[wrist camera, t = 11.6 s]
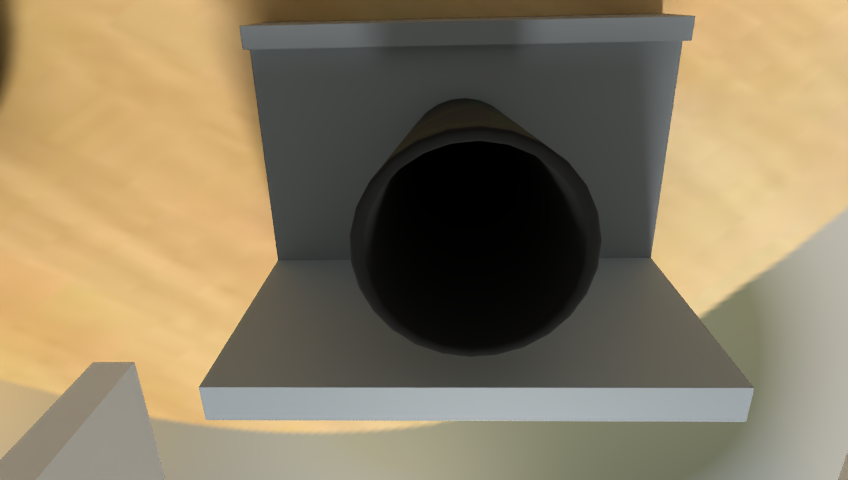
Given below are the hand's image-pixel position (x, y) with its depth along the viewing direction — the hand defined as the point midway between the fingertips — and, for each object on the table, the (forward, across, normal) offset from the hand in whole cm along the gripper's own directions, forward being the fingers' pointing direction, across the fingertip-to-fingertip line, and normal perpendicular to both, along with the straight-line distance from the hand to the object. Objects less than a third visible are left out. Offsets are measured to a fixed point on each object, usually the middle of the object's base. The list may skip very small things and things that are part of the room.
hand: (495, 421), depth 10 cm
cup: (+20, 0, 0) cm, 20 cm away
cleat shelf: (+23, 0, -1) cm, 23 cm away
